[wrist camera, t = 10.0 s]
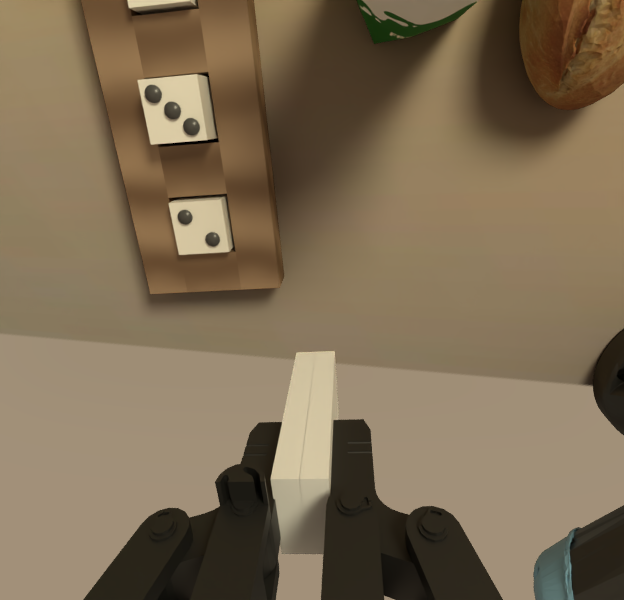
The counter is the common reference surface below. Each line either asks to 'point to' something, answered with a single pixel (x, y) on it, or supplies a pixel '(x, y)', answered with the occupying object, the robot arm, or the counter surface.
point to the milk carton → (408, 16)
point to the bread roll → (573, 49)
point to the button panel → (194, 156)
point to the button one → (161, 6)
